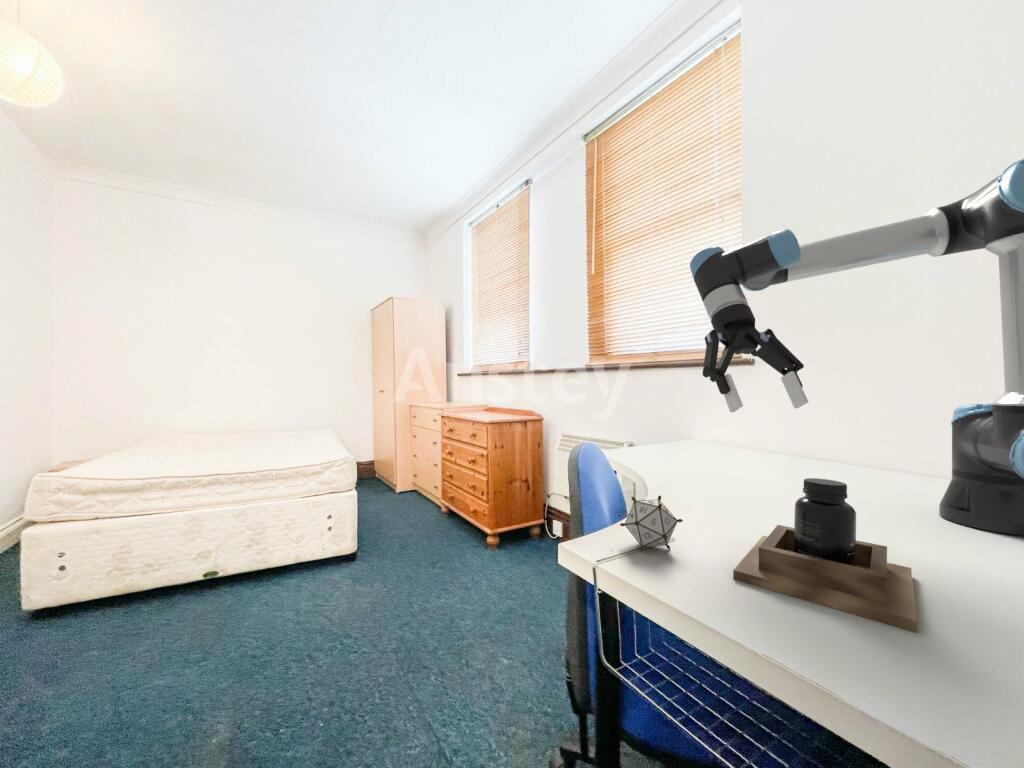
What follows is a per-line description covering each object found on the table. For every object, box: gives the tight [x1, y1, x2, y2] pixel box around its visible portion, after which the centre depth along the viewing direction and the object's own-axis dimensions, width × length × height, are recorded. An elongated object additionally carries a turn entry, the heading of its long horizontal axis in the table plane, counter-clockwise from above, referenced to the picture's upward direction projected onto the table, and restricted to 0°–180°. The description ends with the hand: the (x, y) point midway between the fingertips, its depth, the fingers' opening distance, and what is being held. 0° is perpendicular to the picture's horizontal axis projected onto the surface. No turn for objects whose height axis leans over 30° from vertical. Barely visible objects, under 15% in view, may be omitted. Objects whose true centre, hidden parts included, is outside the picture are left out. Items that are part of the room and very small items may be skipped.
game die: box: [619, 495, 684, 551], centre depth 68 cm, size 9×8×10 cm
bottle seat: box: [732, 524, 918, 633], centre depth 58 cm, size 18×18×4 cm
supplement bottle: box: [793, 477, 857, 566], centre depth 58 cm, size 7×7×12 cm
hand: (769, 407), depth 77 cm, fingers open, 13 cm apart
